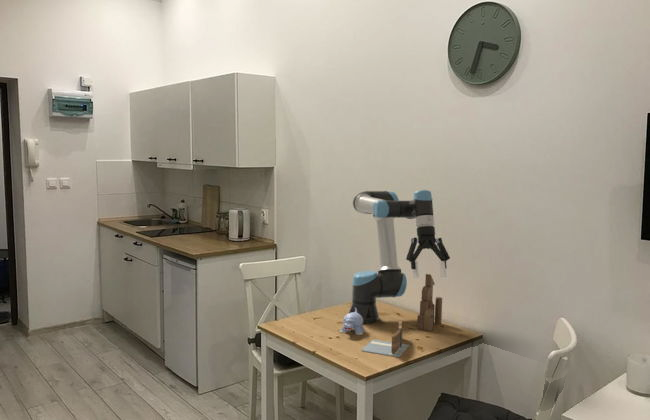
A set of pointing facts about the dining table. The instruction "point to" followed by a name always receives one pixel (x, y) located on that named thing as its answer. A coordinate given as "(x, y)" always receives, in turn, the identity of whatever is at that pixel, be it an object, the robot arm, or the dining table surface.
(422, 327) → the wooden toy
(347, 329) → the hippopotamus toy
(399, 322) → the fence panel
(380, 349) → the card
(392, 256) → the robot arm
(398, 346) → the fence fixed
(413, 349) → the dining table surface
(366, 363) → the dining table surface
